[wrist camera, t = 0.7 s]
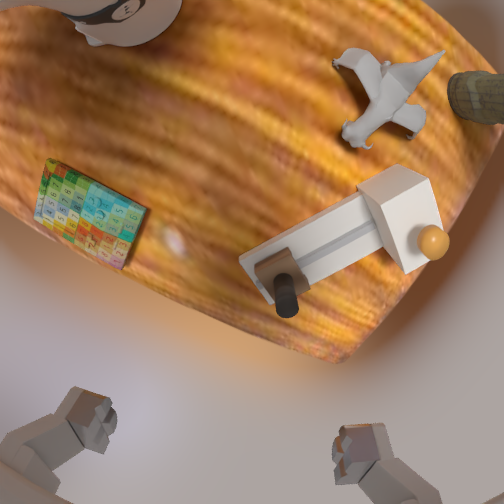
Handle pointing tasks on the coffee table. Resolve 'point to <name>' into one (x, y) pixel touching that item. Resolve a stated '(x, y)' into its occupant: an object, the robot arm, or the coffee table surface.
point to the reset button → (432, 242)
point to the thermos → (477, 96)
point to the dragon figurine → (385, 93)
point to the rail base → (358, 228)
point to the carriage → (282, 281)
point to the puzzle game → (88, 213)
